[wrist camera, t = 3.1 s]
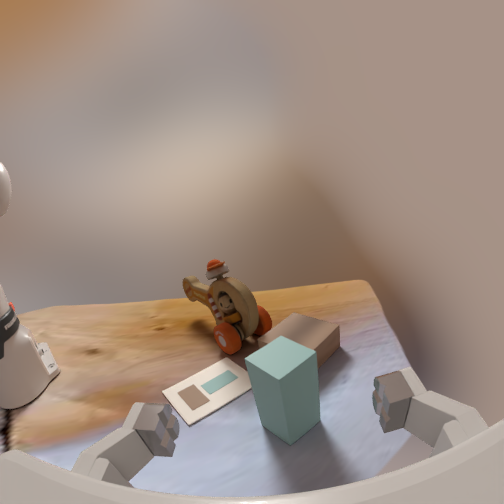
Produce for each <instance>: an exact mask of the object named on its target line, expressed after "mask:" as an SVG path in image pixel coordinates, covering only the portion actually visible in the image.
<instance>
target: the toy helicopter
mask: <svg viewBox="0 0 504 504" xmlns="http://www.w3.org/2000/svg"><path fill="white" fill-rule="evenodd" d="M224 263H225V262H220V261H218V260H211V261H210V262H209V263H208V265H207V273H206V277H207V279H208V280H210V279H213V278H217V280H216V281H214V282H213V283H212V284H211V285H210V286H208V285H205V284H202V283H200V282H199V280H198V279H197V278H196V277H195V276H189V277H186V278H184V279H183V288H184V291H185V294H186V296H187V297H188V299H189V300H190V301H192V302H194V301H196V300H198V301H199V302H201V303H203V304H204V305H206V306H208V307H209V309H210V310H211V312H212V314H213V316H214V318H215V320H216V324H217V326H216V327H215V328H214V337H215V340H216V342H217V343H218V345H219V347H220V348H221V349H222V350H223V351H224V352H225V353H227V354H233V353H235V352H237V351H238V350H240V348H241V341H242V340H243V339H246V338H248V337H249V336H251V335H252V334H253V332H254V333H255V334H257V335H264V334H265V333H267V332H268V331H270V330H271V328H272V320H271V318H270V315H269V314H268V312H267V311H266V310H265V309H264V308H263V307H261V306H258V305H257V303H256V300H255V298H254V296H253V294H252V293H251V291H250V290H249V289H248V288H247V286H246V285H244V284H243V283H242V282H241V281H239V280H237V279H235V278H232V277H225V278H223V276H222V275H223V274H225V273H227V272H228V271H229V269H228V267H227V265H224Z"/></svg>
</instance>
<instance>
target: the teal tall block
mask: <svg viewBox="0 0 504 504" xmlns="http://www.w3.org/2000/svg"><path fill="white" fill-rule="evenodd" d="M244 359H245V363H246V367H247V371H248V375H249V378H250V382H251V386H252V390H253V394H254V397H255V401H256V405H257V409H258V412H259V416H260V420H261V423H262V425H263V426H264V427H265V428H267V429H268V430H269V431H271V432H272V433H273V434H275V435H276V436H278V437H279V438H280V439H282V440H283V441H284V442H286V443H287V444H289V445H290V446H291V445H292V444H293V443H294V442H296V441H297V440H298V439H299V438H301V437H302V436H303V435H304V434H305V433H306V432H308V431H309V430H310V429H311V428H312V427H313V426H315V425H316V424H317V423H318V422H319V421H320V400H319V382H318V367H317V353H316V351H314V350H312V349H309V348H307V347H305V346H303V345H300V344H298V343H296V342H294V341H292V340H289V339H287V338H285V337H283V336H279V337H278V338H276V339H275V340H273V341H272V342H270V343H269V344H267V345H265V346H264V347H262V348H261V349H259V350H257V351H256V352H254V353H253V354H251V355H249V356H248V357H246V358H244Z"/></svg>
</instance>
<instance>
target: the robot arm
mask: <svg viewBox="0 0 504 504" xmlns="http://www.w3.org/2000/svg"><path fill="white" fill-rule="evenodd" d="M10 199H11V181H10V177H9V174H8V172H7V170H6V168H5V167H4V165H3V164H2V163H1V162H0V217H1V216H3V215H4V214H5V213H6V212H7V209H8V207H9V204H10ZM59 372H60V369H59V367H58V365H57V363H56V361H55V358H54V356H53V354H52V352H51V350H50V348H49V346H48V344H47V343H37V341H36V339H35V337H34V335H33V333H32V331H31V330H30V329H28V328H26V327H25V326H23V325H21V324H20V322H19V319H18V318H17V315H16V313H15V310H14V306H13V304H12V302H10V303H8V302H7V299H6V297H5V294H4V291H3V289H2V286H1V283H0V407H2V408H5V409H14V408H18V407H21V406H23V405H25V404H27V403H29V402H30V401H32V400H33V399H35V398H36V397H37V396H38V395H39V394H40V393H41V392H42V391H43V390H44V389H45V387H46V386H47V385H48V383H49V382H50V381H51V380H52V379H53V378H54V377H55V376H56V375H58V374H59ZM374 387H375V390H374V392H373V398H372V399H373V406H374V410H375V412H376V414H378V415H379V416H380V420H379V422H380V425H381V427H382V430H383V432H384V433H387V432H390V431H394V430H397V429H400V428H404V429H406V430H407V431H409V432H410V433H412V434H413V435H415V436H416V437H418V438H419V439H421V440H422V441H424V442H425V443H427V444H428V445H430V446H431V447H433V450H432V453H431V455H430V457H429V458H428V459H425V460H423V461H420V462H418V463H415V464H413V465H410V466H407V467H404V468H401V469H399V470H396V471H393V472H390V473H386V474H383V475H380V476H376V477H373V478H369V479H366V480H362V481H358V482H354V483H350V484H345V485H341V486H336V487H331V488H326V489H320V490H314V491H308V492H301V493H293V494H283V495H272V496H257V497H204V496H189V495H178V494H169V493H162V492H155V491H148V490H142V489H137V488H134V487H133V486H132V485H131V484H130V483H129V482H128V481H129V480H130V479H132V478H133V477H134V476H135V475H136V474H137V473H138V472H139V471H140V470H141V469H142V468H143V467H144V466H145V465H146V464H147V463H148V462H149V461H150V460H151V459H152V458H153V457H154V456H165V457H172V456H173V453H174V449H175V446H176V445H175V443H174V440H175V439H176V438H178V435H179V423H178V420H177V418H176V417H175V416H174V415H172V414H171V412H172V409H171V407H170V405H169V404H157V403H137V402H136V403H135V404H133V406H132V408H131V410H130V412H129V414H128V416H127V418H126V420H125V422H124V424H123V426H122V428H118V429H116V430H115V431H113V432H112V433H110V434H109V435H107V436H106V437H104V438H103V439H101V440H100V441H98V442H96V443H95V444H93V445H92V446H90V447H89V448H87V449H86V450H84V451H82V452H81V453H80V455H79V457H78V459H77V461H76V463H75V465H74V466H73V468H72V470H71V471H69V470H66V469H63V468H60V467H57V466H55V465H52V464H50V463H47V462H45V461H42V460H40V459H37V458H35V457H33V456H30V455H28V454H26V453H24V452H22V451H20V450H11V451H8V452H5V453H3V454H1V455H0V504H504V419H503V420H501V421H499V422H498V423H496V424H495V425H493V426H491V427H490V428H488V426H487V425H486V423H485V422H484V420H483V419H482V417H481V416H480V414H479V413H478V411H477V410H476V409H475V408H473V407H470V406H468V405H465V404H463V403H460V402H457V401H455V400H453V399H450V398H447V397H445V396H442V395H440V394H438V393H435V392H433V391H427V390H426V389H425V387H424V386H423V384H422V383H421V381H420V380H419V378H418V377H417V375H416V374H415V372H414V371H413V369H412V368H411V367H408V368H404V369H401V370H398V371H395V372H392V373H388V374H385V375H381V376H378V377H375V379H374Z"/></svg>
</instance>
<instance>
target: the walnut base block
mask: <svg viewBox="0 0 504 504" xmlns="http://www.w3.org/2000/svg"><path fill="white" fill-rule="evenodd" d="M279 336H283V337H285V338H287V339H289V340H292V341H294V342H296V343H298V344H300V345H303V346H305V347H307V348H309V349H312V350H314V351H316V353H317V367H318V368H319V367H320V366H321V365H322V364H323V363H324V362H325V361H326V360H327V359H328V358H329V357H330V356H331V355H332V354H333V353H334V352H335V351H336V350H337V349H338V348H339V346H340V330H339V325H338V324H334V323H331V322H327V321H323V320H319V319H316V318H312V317H308V316H305V315H301V314H297V313H293V314H291V315H290V316H289V317H287V318H286V319H285V320H283V321H282V322H281V323H279V324H278V325H276V326H275V327H274V328H272V329H271V330H270V331H268V332H267V333H266V334H264V335H263V336H261V337H260V338H259V339H258V344H259V349H261V348H262V347H264V346H265V345H267V344H269V343H270V342H272V341H273V340H275V339H276V338H278V337H279Z"/></svg>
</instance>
